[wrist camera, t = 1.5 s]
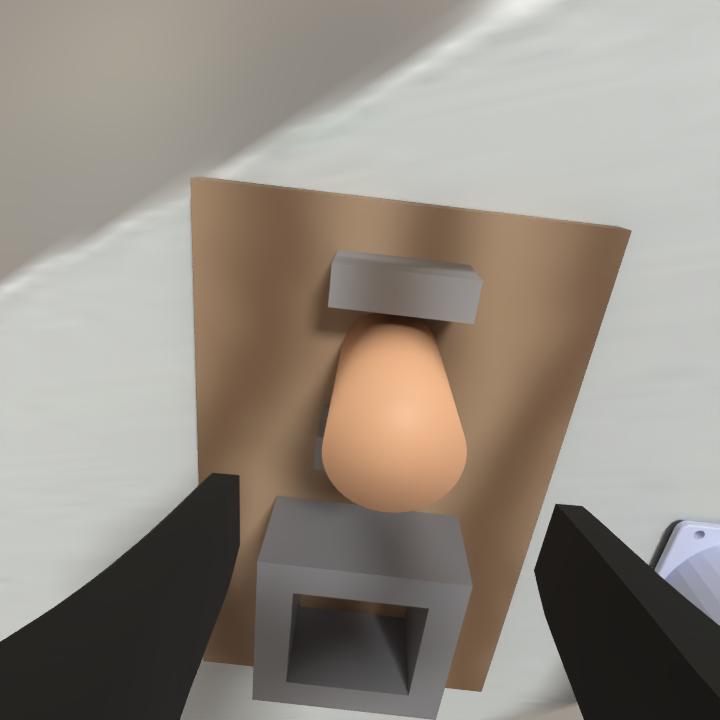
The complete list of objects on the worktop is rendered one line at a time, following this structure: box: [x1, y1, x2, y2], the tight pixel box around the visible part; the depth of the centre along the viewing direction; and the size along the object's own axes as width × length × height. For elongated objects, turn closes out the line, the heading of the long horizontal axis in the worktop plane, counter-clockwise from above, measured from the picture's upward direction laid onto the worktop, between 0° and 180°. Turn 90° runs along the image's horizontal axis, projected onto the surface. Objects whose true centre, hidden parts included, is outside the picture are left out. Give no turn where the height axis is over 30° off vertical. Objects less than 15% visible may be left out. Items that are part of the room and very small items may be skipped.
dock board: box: [191, 177, 631, 692], centre depth 22 cm, size 16×26×4 cm, turn 174°
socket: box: [253, 496, 473, 720], centre depth 23 cm, size 9×9×4 cm
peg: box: [322, 313, 467, 513], centre depth 17 cm, size 4×4×7 cm
